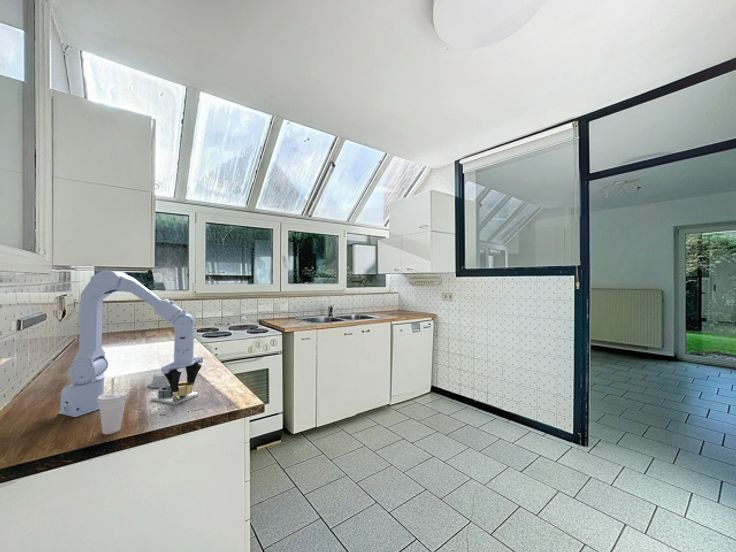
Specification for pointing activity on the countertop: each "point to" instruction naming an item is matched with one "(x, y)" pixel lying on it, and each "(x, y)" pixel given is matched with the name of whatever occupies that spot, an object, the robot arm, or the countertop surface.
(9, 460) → the countertop surface
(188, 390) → the brass ring
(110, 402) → the smoothie
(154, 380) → the mechanical component
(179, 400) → the piston block
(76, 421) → the countertop surface
